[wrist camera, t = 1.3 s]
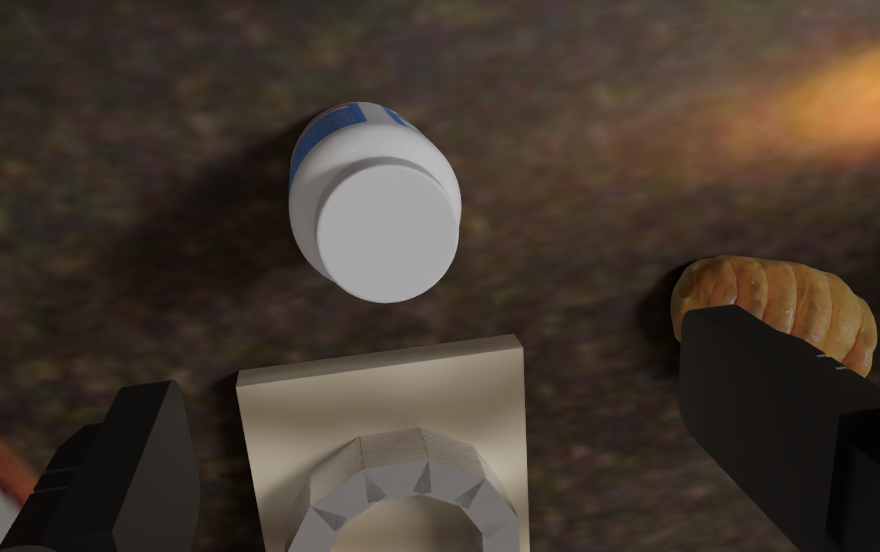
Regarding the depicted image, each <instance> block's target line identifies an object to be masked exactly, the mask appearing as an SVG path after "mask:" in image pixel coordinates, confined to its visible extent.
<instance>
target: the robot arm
mask: <svg viewBox="0 0 880 552" xmlns="http://www.w3.org/2000/svg"><path fill="white" fill-rule="evenodd" d="M679 407H680V412H681V416H682V419H683V422H684V424H685V426H686V428H687V430H688V432H689V433H690V434H691V436H692V437H693V438H694V439H695V440H696V441H697V442H698V443H699V444H700V445H701V446H702V447H703V449H704V450H705V451H706V452H707V453H708V454H709V455H710V456H711V457H712V458H713V459H714V460H715V461H716V462H717V463H718V464H719V466H720V467H721V468H722V469H723V470H724V471H725V472H726V473H727V474H728V475H729V476H730V477H731V478H732V479H733V480H734V481H735V483H736V484H737V485H738V486H739V487H740V488H741V489H742V490H743V491H744V492H745V493H746V494H747V495H748V496H749V497H750V498H751V500H752V501H753V502H754V503H755V504H756V505H757V506H758V507H759V508H760V509H761V510H762V511H763V512H764V513H765V514H766V515H767V517H768V518H769V519H770V520H771V521H772V522H773V523H774V524H775V525H776V526H777V527H778V528H779V529H780V530H781V531H782V532H783V534H784V535H785V536H786V537H787V538H788V539H789V540H790V541H791V542H792V543H793V544H794V545H795V546H796V547H797V548H798V549H799V551H800V552H880V387H878V386H877V385H875V384H874V383H872V382H871V381H869V380H867V379H866V378H864V377H863V376H861V375H859V374H858V373H856V372H855V371H853V370H851V369H846V366H845V365H843V364H842V363H840V362H839V361H837V360H835V359H834V358H832V357H827V356H826V353H824V352H823V351H821V350H820V349H818V348H816V347H815V346H813V345H812V344H810V343H808V342H807V341H805V340H804V339H801V338H798V337H796V336H793V335H790V334H787V333H784V332H781V331H778V330H776V329H774V328H772V327H771V326H769V325H768V324H766V323H765V322H763V321H762V320H760V319H758V318H757V317H755V316H754V315H752V314H751V313H749V312H748V311H746V310H744V309H743V308H741V307H740V306H738V305H736V304H729V305H722V306H715V307H707V308H700V309H693V310H689V311H687V312H686V313H685V315H684V317H683V320H682V326H681V347H680V371H679ZM199 509H200V483H199V475H198V469H197V464H196V460H195V455H194V450H193V445H192V441H191V436H190V431H189V427H188V422H187V417H186V413H185V408H184V403H183V399H182V394H181V391H180V388H179V386H178V384H177V382H176V381H175V380H170V381H163V382H156V383H148V384H141V385H134V386H126V387H122V388H121V389H120V390H119V392H118V394H117V396H116V398H115V399H114V401H113V403H112V405H111V407H110V409H109V411H108V413H107V415H106V417H105V418H104V420H103V422H102V423H97V424H91V425H85V426H84V427H83V428H82V429H80V430H79V431H78V432H77V433H75V434H74V435H73V436H72V437H70V438H69V439H68V440H67V441H65V442H64V443H63V444H62V445H60V446H59V447H58V449H57V451H56V452H55V454H54V456H53V457H52V459H51V461H50V462H49V464H48V466H47V467H46V469H45V474H42V476H41V477H40V479H39V481H38V482H37V484H36V486H35V487H34V494H30V496H29V498H28V499H27V501H26V503H25V504H24V506H23V508H22V509H21V511H20V513H19V514H18V516H17V518H16V519H15V521H14V523H13V524H12V526H11V528H10V529H9V531H8V533H7V534H6V536H5V538H4V539H3V541H2V543H1V544H0V552H190V551H191V546H192V542H193V538H194V533H195V529H196V524H197V520H198V515H199Z"/></svg>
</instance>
